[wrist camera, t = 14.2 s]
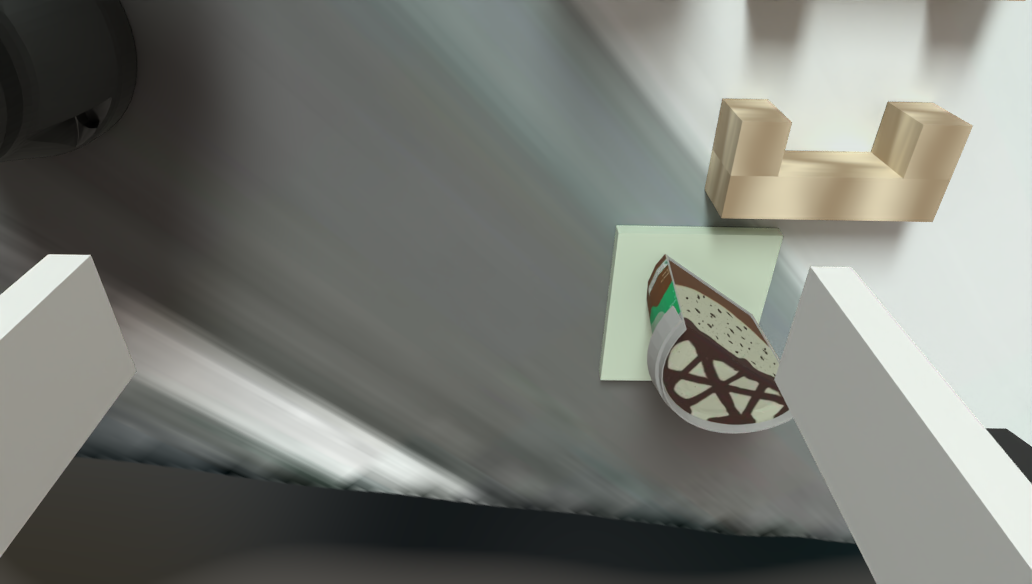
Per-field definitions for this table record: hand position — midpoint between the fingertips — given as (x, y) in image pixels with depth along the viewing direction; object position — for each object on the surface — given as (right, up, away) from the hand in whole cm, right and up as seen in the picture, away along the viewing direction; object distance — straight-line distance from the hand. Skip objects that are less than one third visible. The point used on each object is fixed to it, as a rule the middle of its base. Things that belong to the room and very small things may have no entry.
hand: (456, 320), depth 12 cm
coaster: (+14, 0, +40) cm, 42 cm away
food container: (+14, -1, +39) cm, 41 cm away
